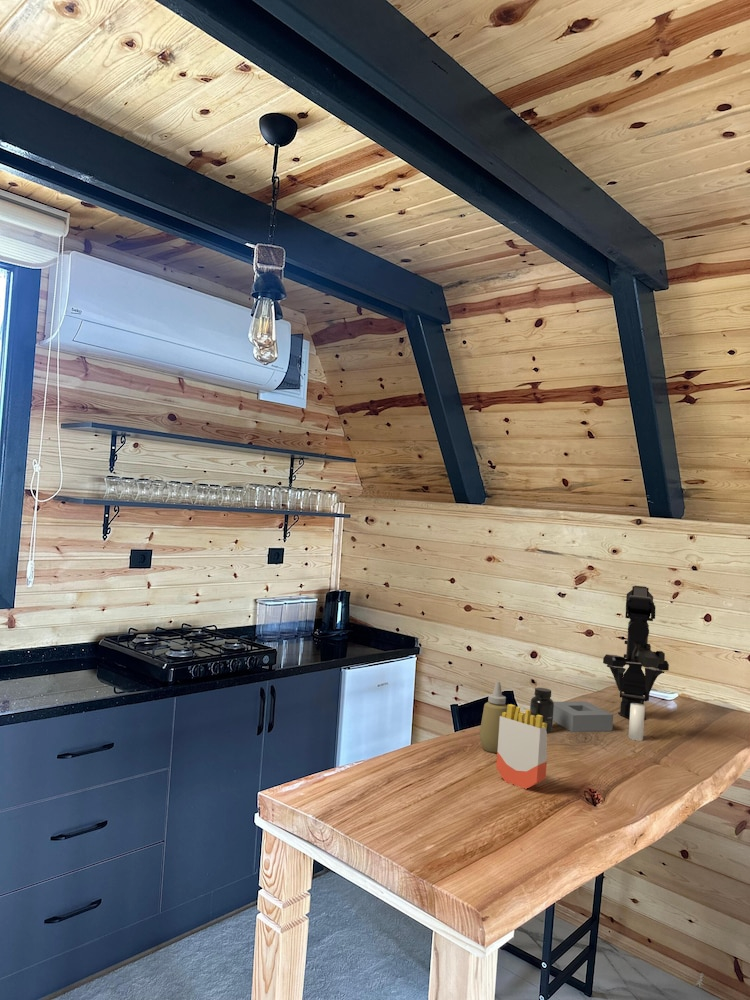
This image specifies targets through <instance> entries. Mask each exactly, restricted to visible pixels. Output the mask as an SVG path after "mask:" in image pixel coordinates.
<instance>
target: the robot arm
mask: <svg viewBox="0 0 750 1000" xmlns="http://www.w3.org/2000/svg"><path fill="white" fill-rule="evenodd" d="M656 607H657V606H656V605H655V602H654V596H653V595H652V593H650V592H649V587H647V586H645V585H643V586H641V585H634V586H633V585H632V587H631V590H630V591H628V592H627V593H626V599H625V616H624V617H625V619H629V621H628V623H627V624H628V625H627V637H626V638H627V640H624V643H623V644H624V645H626V654H625V653H624V654H623V656H621V655H617V654H608V653H607V654H605V655H604V656H603V660H602V664H604V665H606V667H607V668H609V669H610V671H611V674H612V676H613V678H614V681H615V684H616V686H617V690H618V691H619V698H621V701H620V711H619V712H617V714H618V715H619V714H620V716H622V717H624V718H626V719H628V720H630V705H631V703H639V704H643V705H645V702H648V701H650V692H651V690H652V688H653V686H654V684H655V681H656V680H657V678H658V677H659V676H660V675H661V674H664V673H665V671H666V672H667V671H670V665H669V663H668V661H667V660H666V655H665V652H664V651H662V650H656V651H652V649H651V648H652V646H651V644H650V643H649V635H650V625H649V623H648V622H653V621H654V620H655V619H656ZM626 665H627V666H628V667H627V668H625V666H626ZM642 667H644V671H643V668H642ZM644 720H647V717H646V716H644Z"/></svg>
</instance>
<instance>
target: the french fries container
mask: <svg viewBox="0 0 750 1000" xmlns="http://www.w3.org/2000/svg"><path fill="white" fill-rule="evenodd" d="M506 705H507V713H506V712H503V713H502V715H501V716H500V722H499V736H498V751H497V753H496V765H495V767H496V770H497V771H498V773H499V774H500V776H501V777H502V780H503V781H504V782H505V781H506V782H505V783H507V782H508V783H507V784H510V783H512V784H514V785H513V786H515V785H517V786H520V787H522V788H521V789H523V788H525V789H526V790H527V788H528V789H529V788H532V787H534V786H536V785H538V784H539V783H541V782H542V781H544V780H546V777H547V766H548V765H547V764H548V758H547V757H548V754H547V753H548V751H547V750H548V748H547V747H548V746H547V743H548V739H547V737H548V733H547V731H546V729H547V723H542V720H543V716H542V715H536V718H535V716H533V715H531V716H530V714H531V710H530V708H529V709H525V713H524V712H523V711H521V707H520V706H516V705H515V704H512V703H510V704H509V703H508V704H506ZM512 784H511V785H512ZM517 786H516V787H517ZM520 787H519V788H520ZM525 789H524V790H525Z"/></svg>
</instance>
